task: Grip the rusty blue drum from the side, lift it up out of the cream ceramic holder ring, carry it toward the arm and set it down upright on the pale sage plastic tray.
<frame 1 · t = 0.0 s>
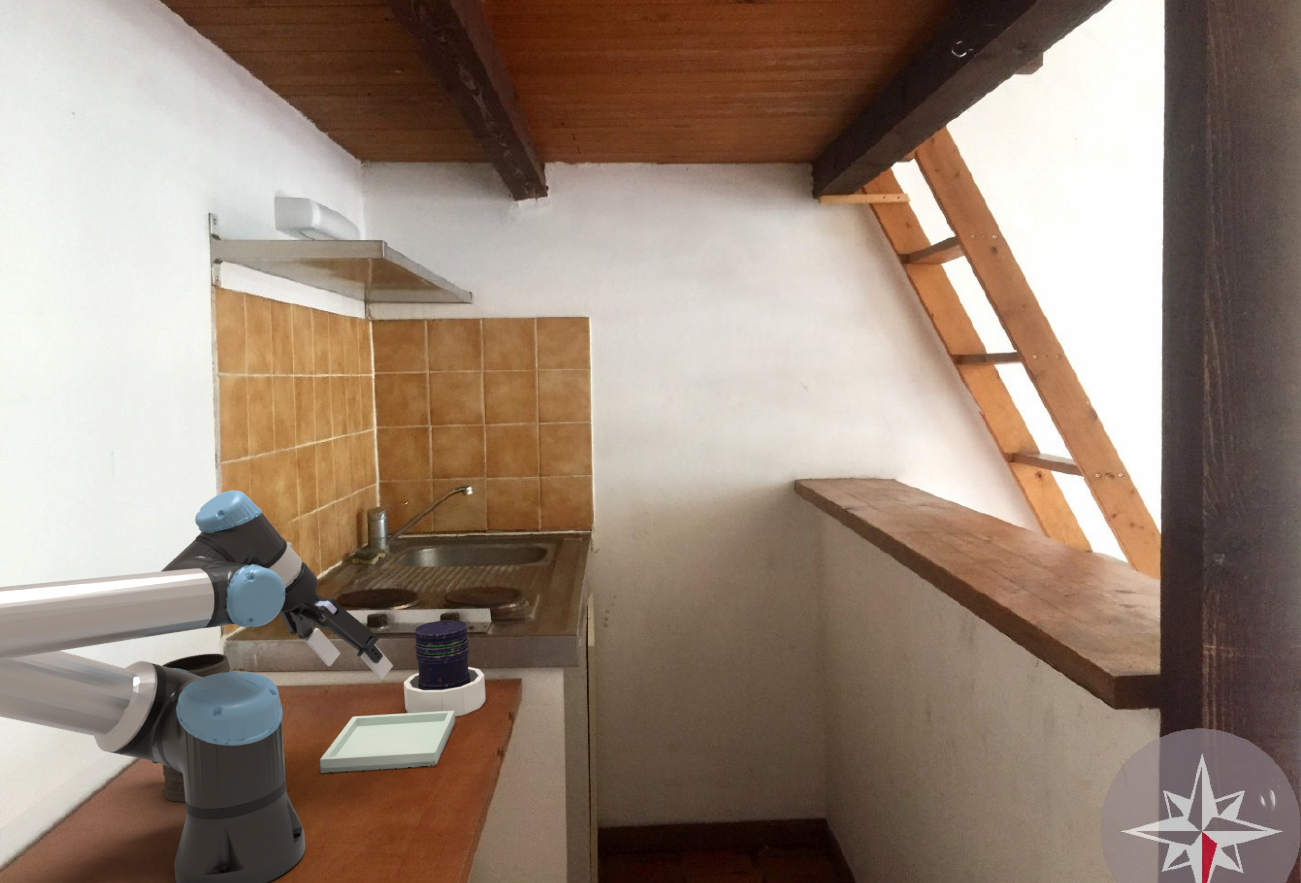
hand: (359, 665, 143), 15 cm above the worktop, tool tilted 35°, fingers open, 13 cm apart
tray: (392, 746, 148), on the worktop
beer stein: (189, 787, 136), on the worktop
holder ring: (445, 704, 166), on the worktop
rusty blue drum: (445, 705, 166), resting in holder ring
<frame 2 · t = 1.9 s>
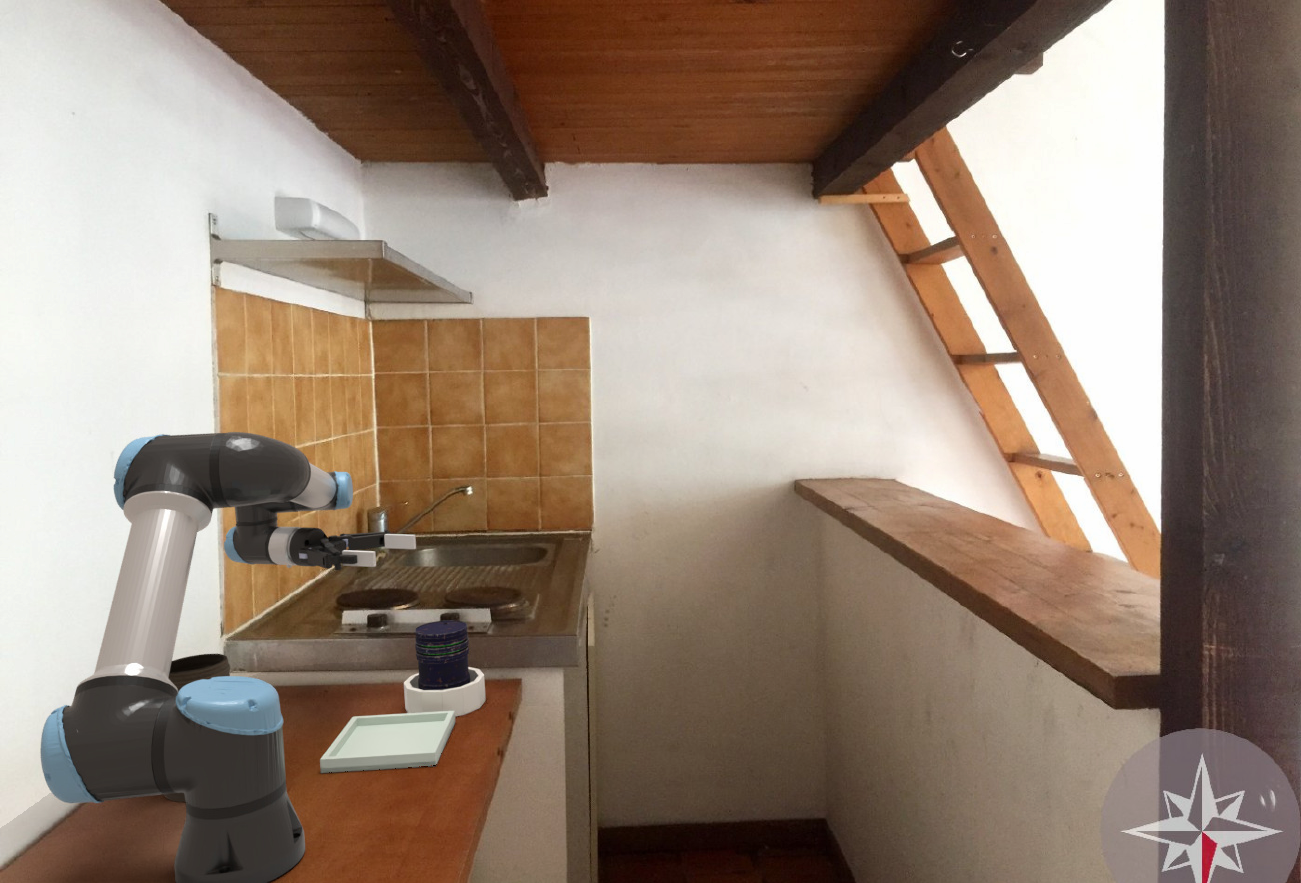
hand: (395, 550, 165), 30 cm above the worktop, tool horizontal, fingers open, 13 cm apart
nothing on the worktop moved.
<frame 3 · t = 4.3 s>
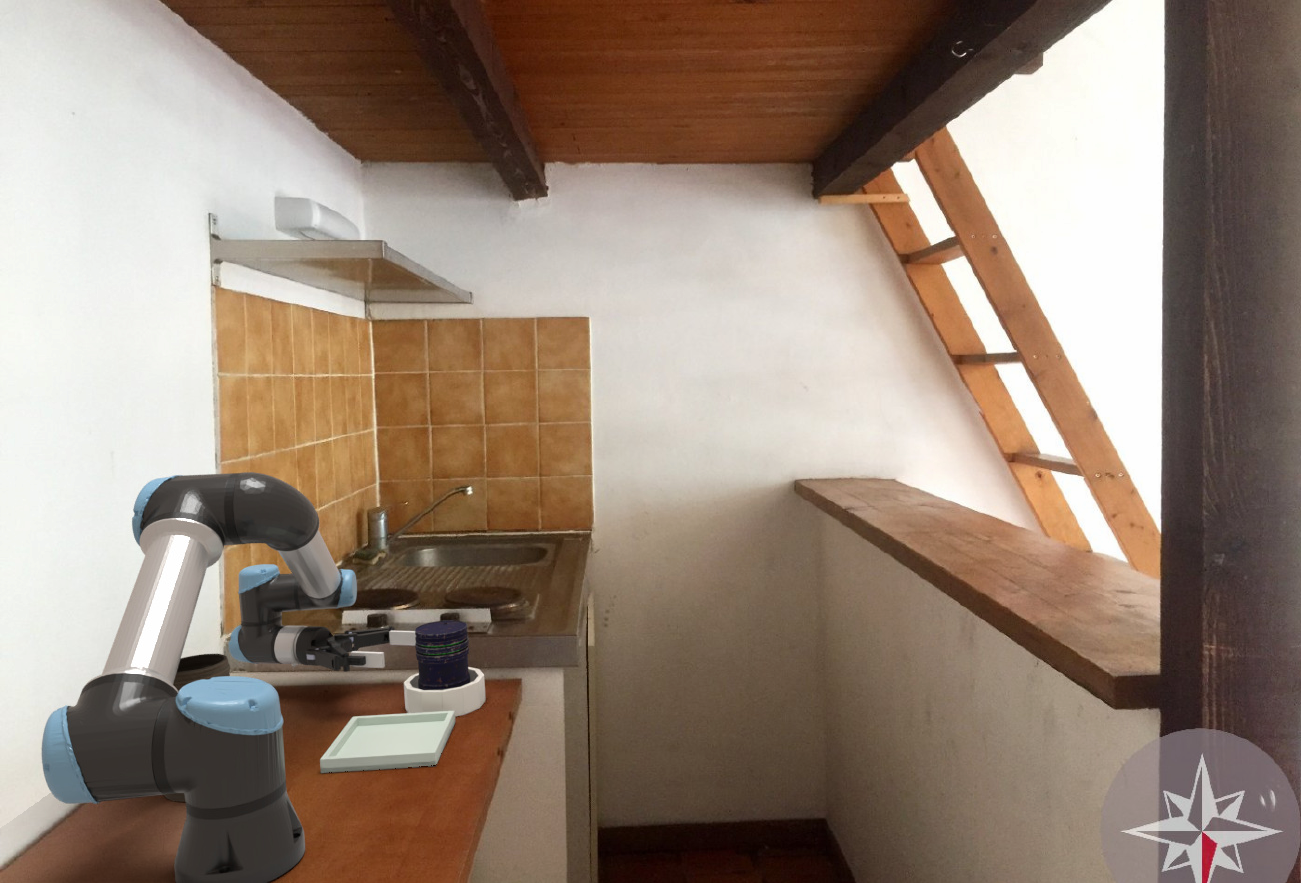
hand: (402, 648, 168), 10 cm above the worktop, tool horizontal, fingers open, 13 cm apart
nothing on the worktop moved.
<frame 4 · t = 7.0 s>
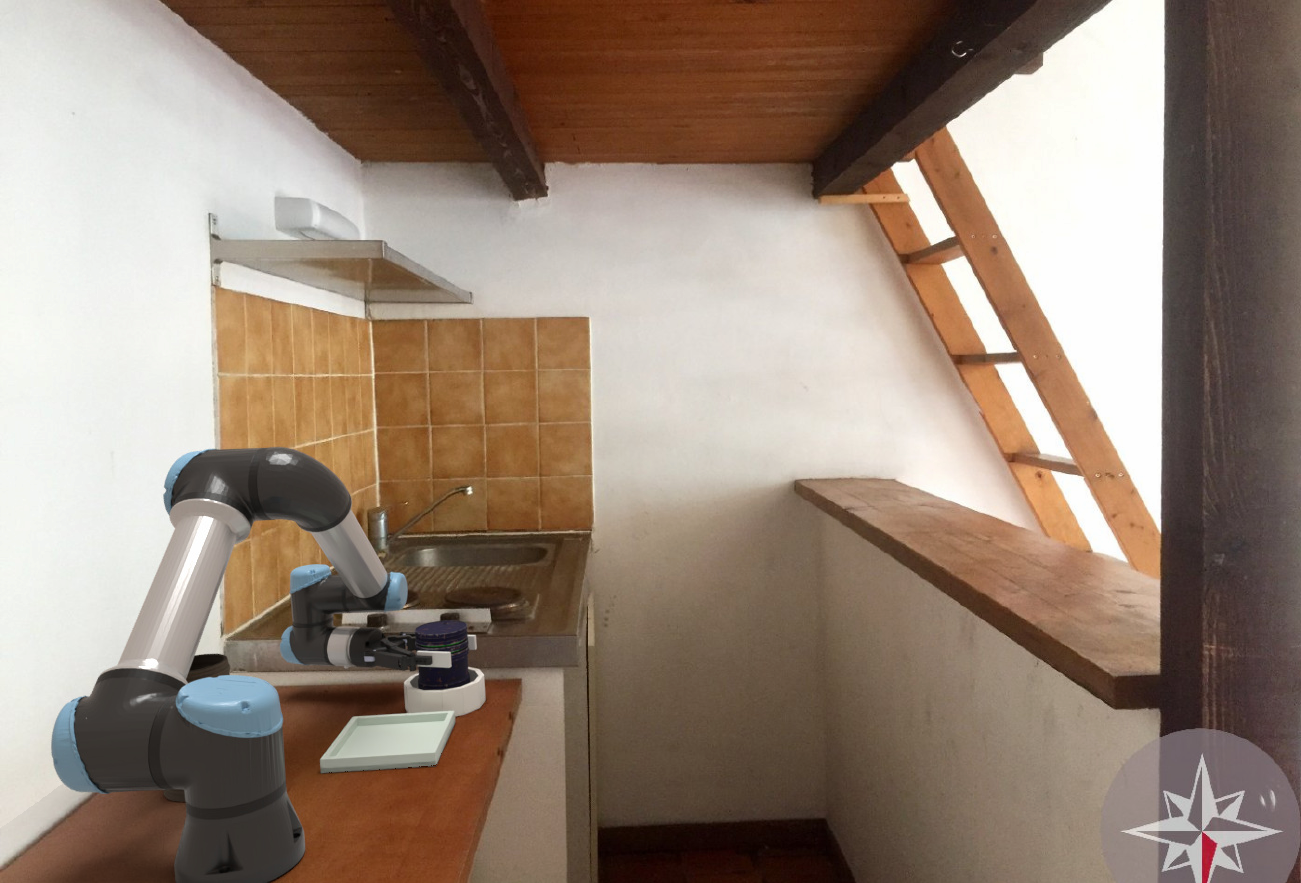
hand: (463, 650, 164), 11 cm above the worktop, tool horizontal, fingers closed on rusty blue drum, 10 cm apart
rusty blue drum: (445, 705, 166), resting in holder ring, touching gripper
everything else where it was.
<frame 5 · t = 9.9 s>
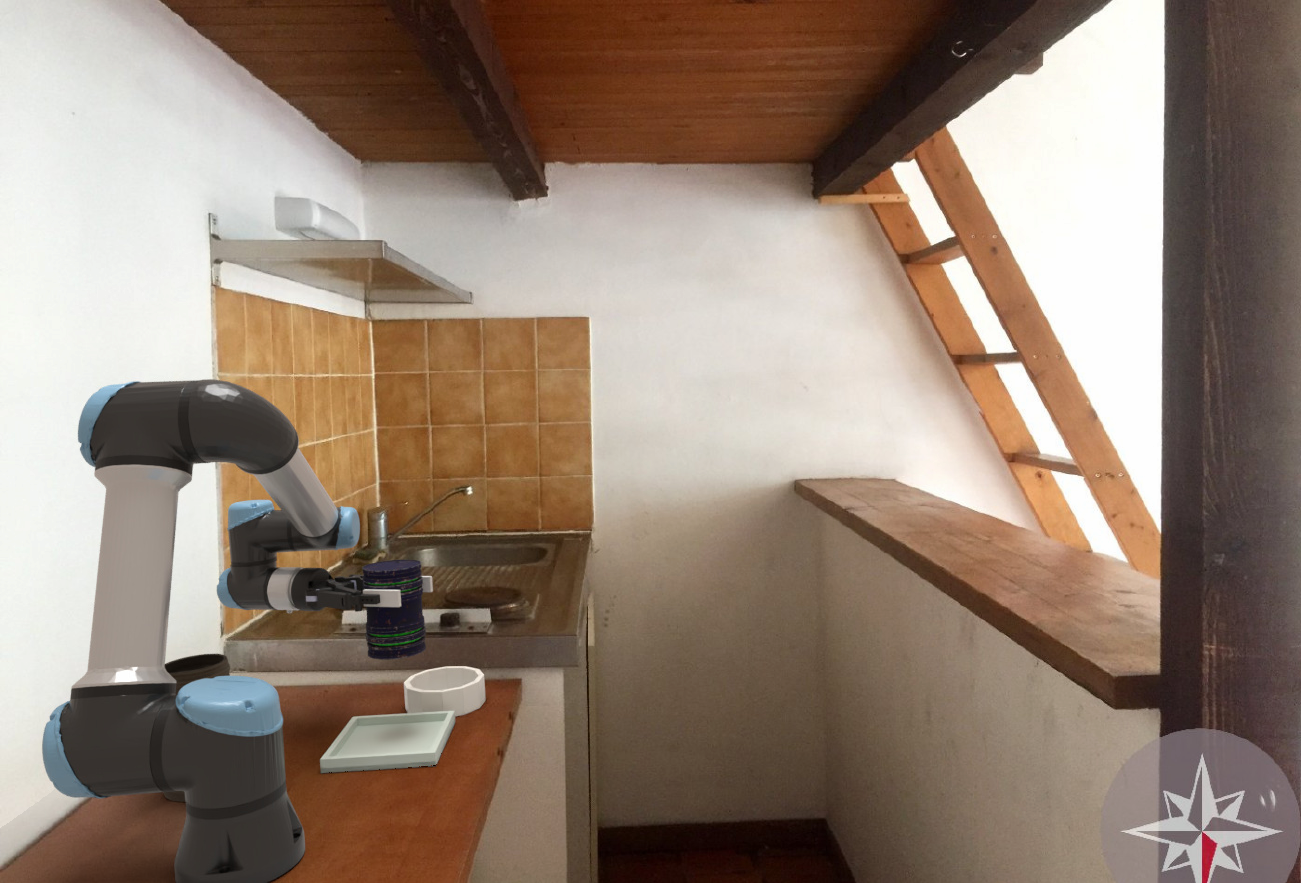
hand: (416, 591, 148), 26 cm above the worktop, tool horizontal, fingers closed on rusty blue drum, 10 cm apart
rusty blue drum: (397, 652, 150), point 15 cm above the worktop, touching gripper
everything else where it was.
when the fingers open (13 cm above the worktop, at t = 13.3 s): rusty blue drum drops 1 cm, resting on tray.
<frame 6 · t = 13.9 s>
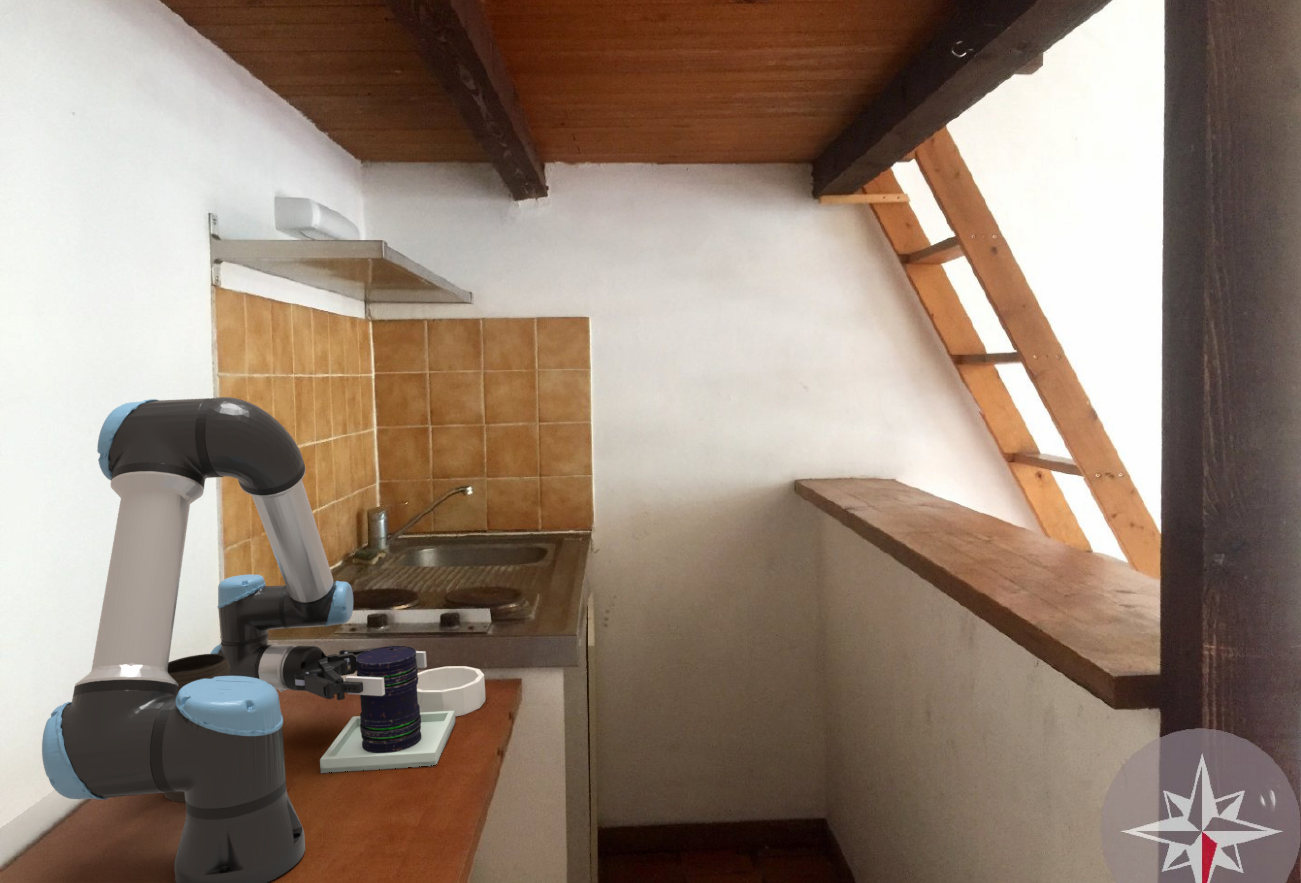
hand: (405, 672, 146), 13 cm above the worktop, tool horizontal, fingers open, 13 cm apart
rusty blue drum: (392, 742, 148), point 1 cm above the worktop, touching tray
everything else where it was.
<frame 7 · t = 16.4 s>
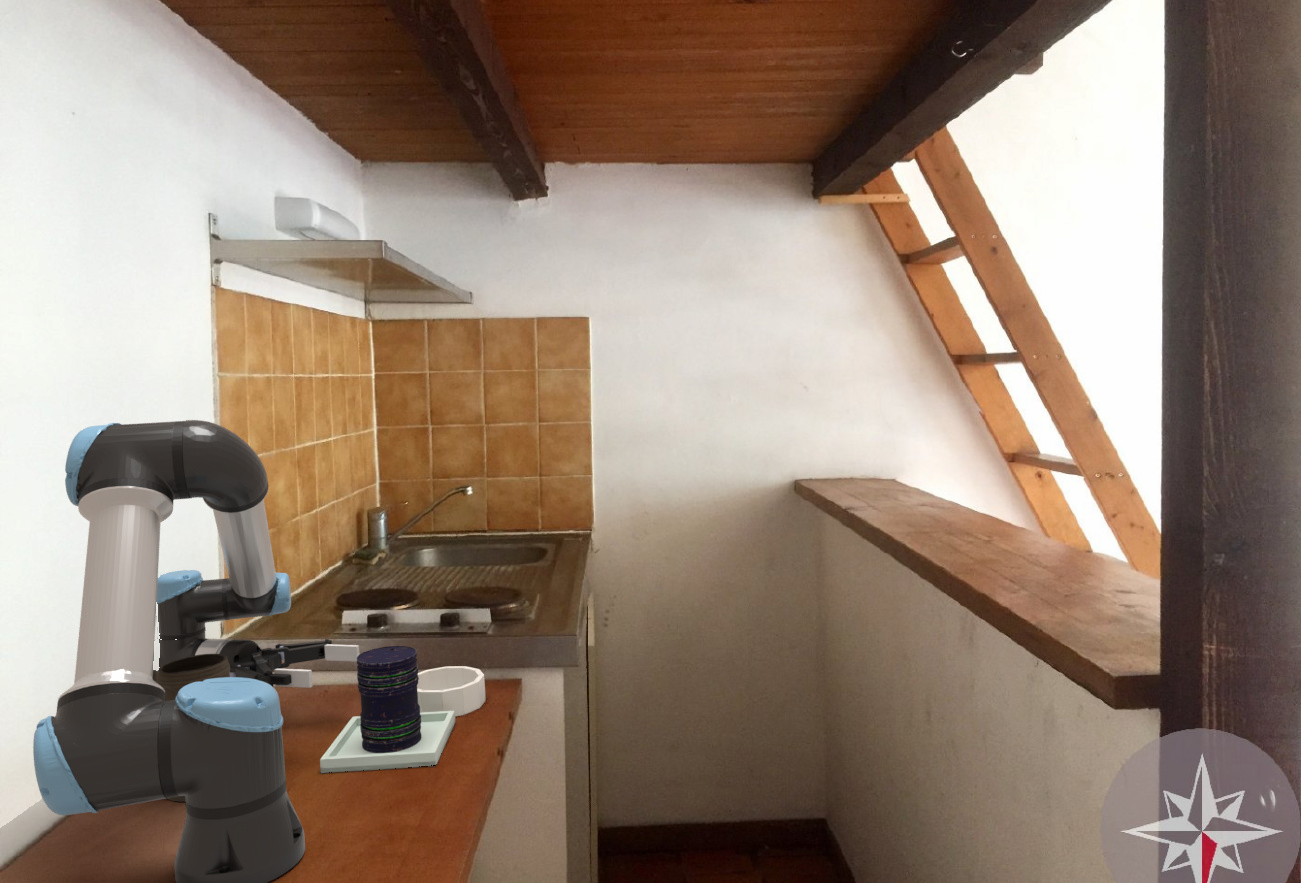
hand: (335, 665, 149), 14 cm above the worktop, tool horizontal, fingers open, 13 cm apart
nothing on the worktop moved.
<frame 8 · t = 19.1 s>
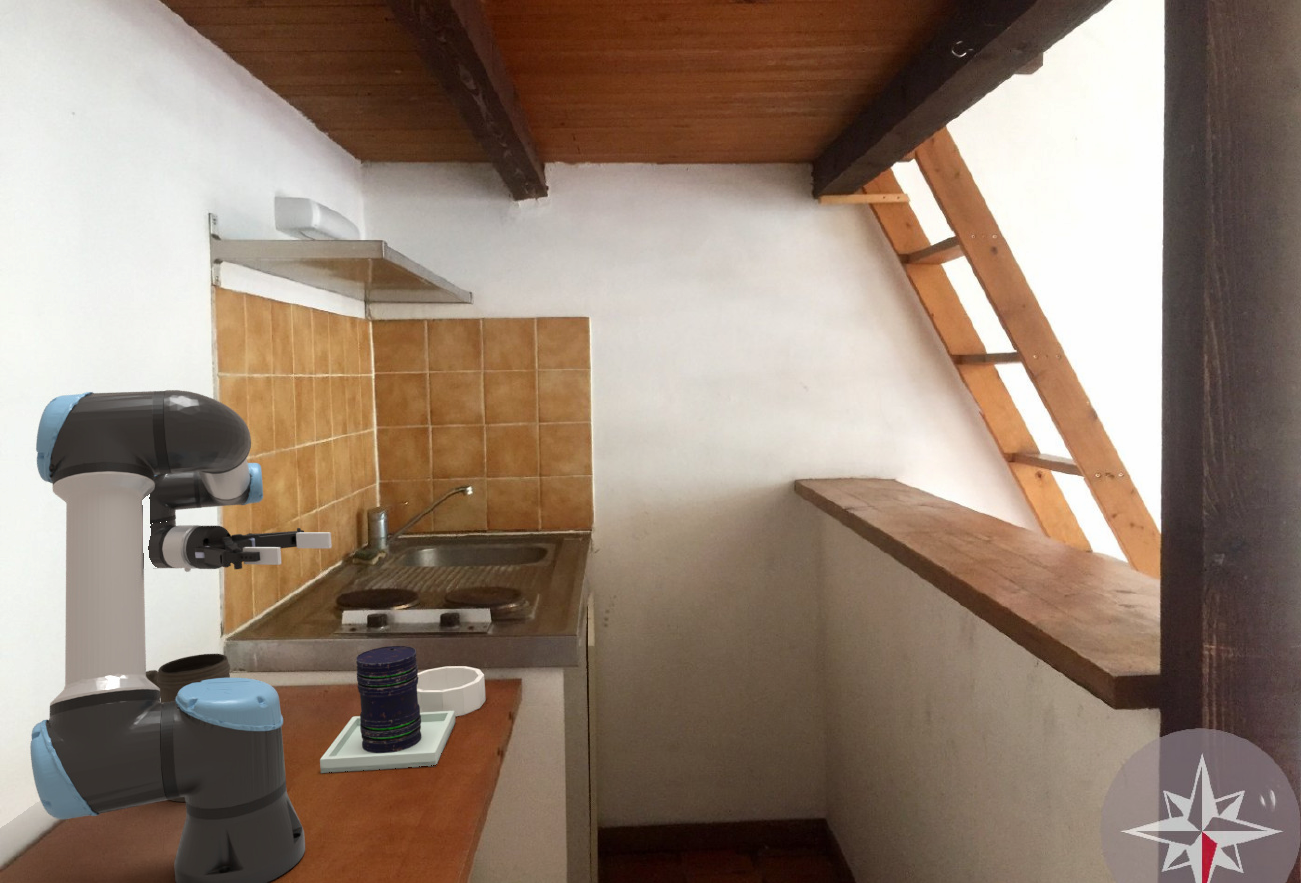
hand: (306, 547, 147), 34 cm above the worktop, tool horizontal, fingers open, 13 cm apart
nothing on the worktop moved.
at the end: rusty blue drum inside the target area on the tray (0.1 cm from its centre), point 0.6 cm above the tray's base; rusty blue drum tilted 0°; the gripper is holding nothing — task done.
